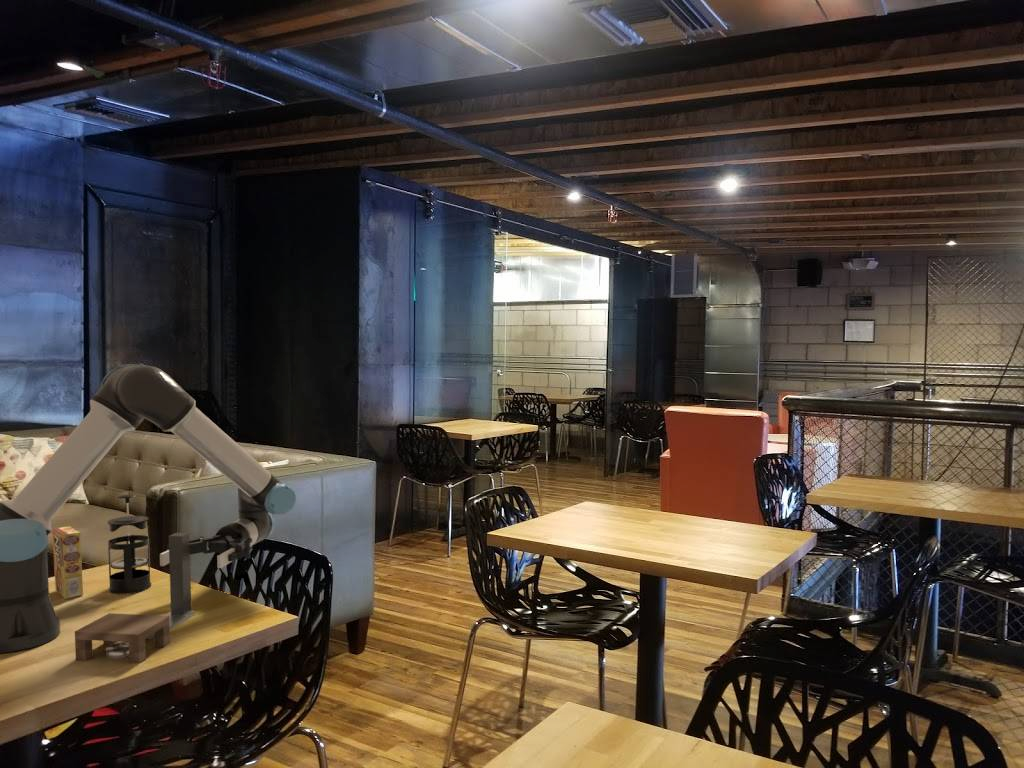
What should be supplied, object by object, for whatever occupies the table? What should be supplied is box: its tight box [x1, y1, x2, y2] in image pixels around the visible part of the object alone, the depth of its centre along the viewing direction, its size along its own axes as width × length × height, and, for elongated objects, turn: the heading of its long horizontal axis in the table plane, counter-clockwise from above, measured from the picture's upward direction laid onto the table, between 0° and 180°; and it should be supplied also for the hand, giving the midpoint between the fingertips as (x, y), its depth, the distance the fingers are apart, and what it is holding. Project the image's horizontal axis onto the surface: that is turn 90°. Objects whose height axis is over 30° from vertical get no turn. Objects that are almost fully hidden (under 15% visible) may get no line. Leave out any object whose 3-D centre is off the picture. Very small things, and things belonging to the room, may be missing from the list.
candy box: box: [51, 526, 84, 600], centre depth 187 cm, size 9×4×15 cm, turn 44°
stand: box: [74, 612, 171, 664], centre depth 152 cm, size 13×10×6 cm
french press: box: [107, 493, 152, 595], centre depth 191 cm, size 12×9×23 cm
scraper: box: [145, 532, 195, 640], centre depth 166 cm, size 6×15×18 cm, turn 172°
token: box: [105, 642, 129, 660], centre depth 151 cm, size 5×5×2 cm
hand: (189, 561), depth 174 cm, fingers open, 13 cm apart
